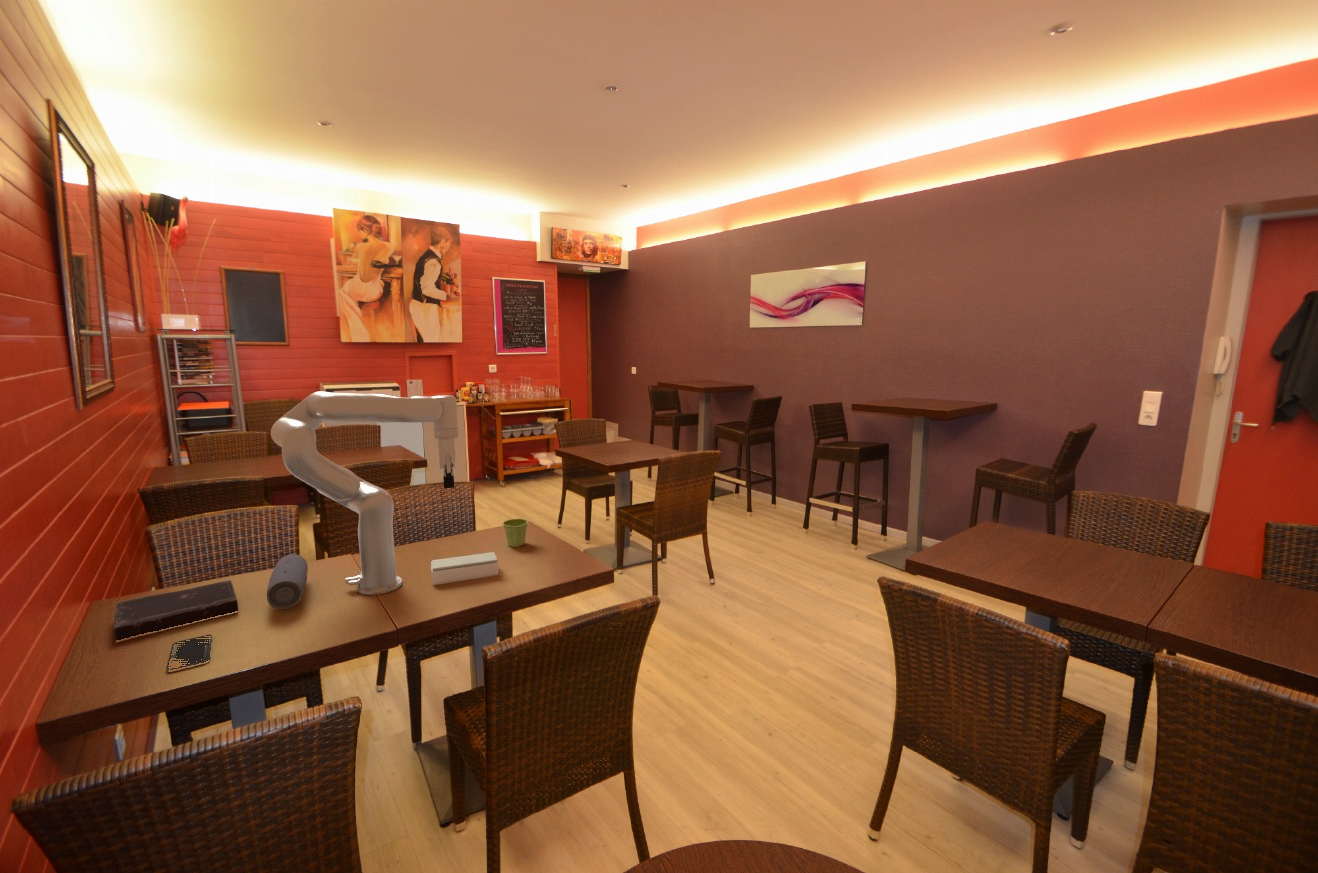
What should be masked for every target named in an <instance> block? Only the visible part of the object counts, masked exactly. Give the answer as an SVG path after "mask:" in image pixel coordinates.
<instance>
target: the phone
mask: <svg viewBox="0 0 1318 873" xmlns="http://www.w3.org/2000/svg"><path fill="white" fill-rule="evenodd" d="M204 636H211V637H210V638H211V639H196V638H209V637H204ZM212 638H213V634H205V635H201V636H196V637H192V638H191V637H190V638H187V639H182V640H179V641H176V642H174V643H172V645H171V649H170V653H169V658H168V661H167V664H166V671H167V670H173V669H178V668H182V667H187V666H191V665H196V664H199V663H204V662H206V661H208V660H209V659H210V660H211V657H210V651H211V652H212V647H211V643H212V644H213V639H212ZM186 640H190V641H186ZM205 640H206V641H205ZM207 640H208V641H207ZM209 640H210V641H209ZM177 642H185V643H177ZM198 642H199V643H198ZM200 642H203V643H200ZM204 642H208V643H204ZM209 642H210V643H209ZM174 644H181V645H175V646H181V647H173V646H174ZM182 644H183V645H182ZM184 644H185V645H184ZM198 644H199V645H198ZM205 646H206V647H205ZM174 648H175V649H174ZM176 648H177V649H176ZM178 648H179V649H178ZM172 650H173V651H172ZM174 650H175V651H174ZM176 650H178V651H176ZM172 652H176V653H172ZM171 654H174V655H171ZM176 656H177V657H176ZM171 658H176V659H184V660H181V661H188V662H181V663H187V664H185V665H186V666H180V667H178V668H172V669H169V668H168V667H169V666H168V665H169V661H170V659H171ZM188 659H189V660H188ZM201 659H202V660H201ZM172 661H178V660H172ZM179 661H180V660H179ZM196 661H197V662H196ZM171 663H172V662H171ZM179 663H180V662H179ZM188 663H190V664H188ZM182 665H184V664H182ZM170 667H171V666H170Z"/></svg>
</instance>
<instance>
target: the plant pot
mask: <svg viewBox="0 0 1318 873" xmlns="http://www.w3.org/2000/svg"><path fill="white" fill-rule="evenodd" d="M528 524H529V520H528V519H525V518H510V519H508V520H504V521H503V522H502V525H503V528H504V532H505V534H506V541H507V545H509V546H508V547H512V548H518V547H522V546H524V545H525V544H526V536H527V527H528Z"/></svg>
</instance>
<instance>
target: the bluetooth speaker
mask: <svg viewBox="0 0 1318 873" xmlns="http://www.w3.org/2000/svg"><path fill="white" fill-rule="evenodd" d="M308 571H309V570H308V561H307V560H306V558H304V557H303V556H302V555H300V554H296V553H295V554H294V553H292V554H291V553H290V554H287V555H284V556H283V557H281V558H280V559H279V560H278V562H276V564H275V566H274V567H273V570H272V572H271V575H270V578H269V581H268V586H267V590H266V599H267V602H268V604H269V606H271V607H272V608H275V609H276V610H286V609H290V608H292V607H295V606H296V605H298V603H299V602H300V601H301V599H302V597H303V594H304V592H305V588H306V586H307V585H306V584H307V581H308Z"/></svg>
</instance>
